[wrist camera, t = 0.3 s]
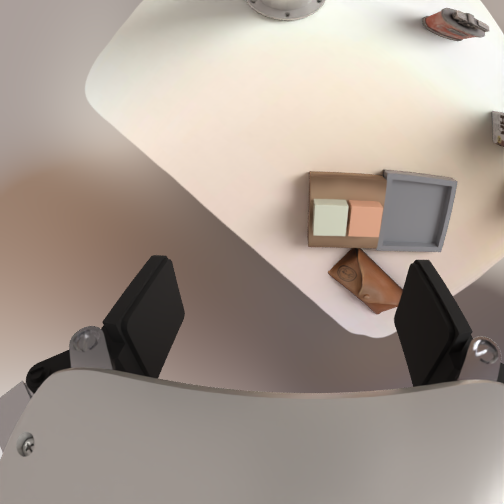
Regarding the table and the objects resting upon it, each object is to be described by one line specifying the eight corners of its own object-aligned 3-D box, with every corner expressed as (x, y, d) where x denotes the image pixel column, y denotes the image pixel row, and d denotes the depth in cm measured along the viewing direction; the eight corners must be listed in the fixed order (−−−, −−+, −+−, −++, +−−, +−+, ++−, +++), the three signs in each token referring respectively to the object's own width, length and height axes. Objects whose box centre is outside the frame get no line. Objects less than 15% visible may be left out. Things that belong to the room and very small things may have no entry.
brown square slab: (309, 171, 42) (310, 176, 40) (381, 175, 40) (387, 180, 38) (307, 238, 48) (308, 246, 46) (372, 239, 47) (376, 248, 44)
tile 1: (348, 199, 41) (351, 206, 38) (378, 201, 40) (383, 207, 38) (345, 228, 43) (348, 236, 41) (374, 229, 42) (378, 237, 40)
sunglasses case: (323, 273, 52) (340, 281, 45) (343, 242, 52) (362, 246, 45) (378, 316, 56) (396, 326, 49) (395, 289, 56) (414, 296, 49)
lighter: (423, 30, 26) (452, 19, 17) (421, 13, 24) (449, -1, 15) (461, 44, 25) (495, 40, 16) (460, 28, 23) (492, 21, 14)
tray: (383, 169, 40) (387, 172, 38) (452, 177, 38) (457, 181, 36) (373, 244, 47) (376, 250, 45) (436, 246, 45) (440, 252, 44)
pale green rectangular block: (313, 198, 41) (314, 204, 39) (345, 199, 41) (348, 206, 38) (312, 228, 44) (313, 235, 42) (342, 228, 43) (345, 236, 41)
